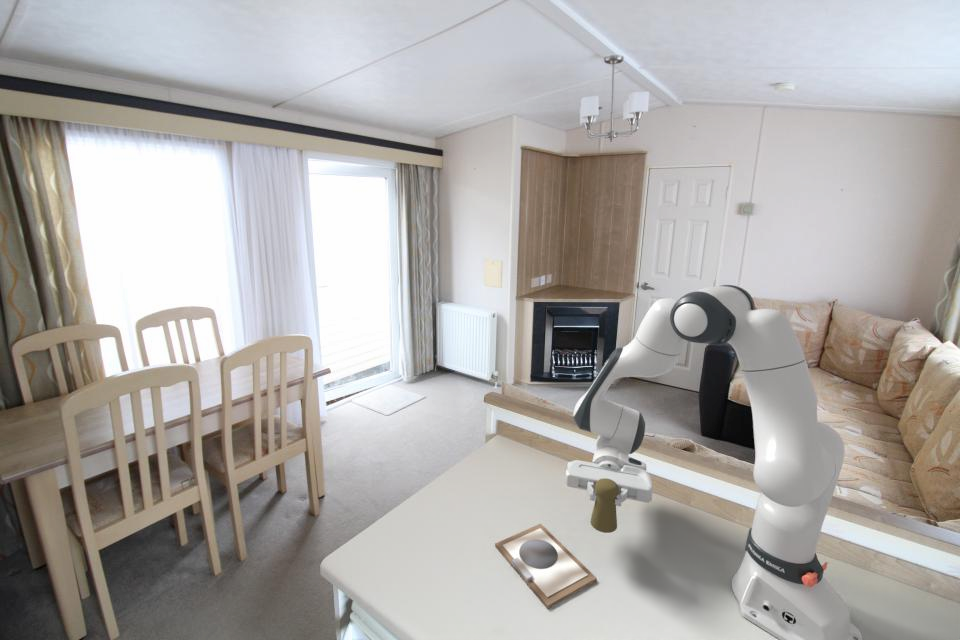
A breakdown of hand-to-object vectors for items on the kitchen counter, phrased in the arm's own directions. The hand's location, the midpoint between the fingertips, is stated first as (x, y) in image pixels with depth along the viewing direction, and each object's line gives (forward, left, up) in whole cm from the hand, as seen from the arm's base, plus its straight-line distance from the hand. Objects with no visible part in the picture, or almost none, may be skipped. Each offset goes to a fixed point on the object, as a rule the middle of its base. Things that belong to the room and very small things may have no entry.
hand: (605, 500), depth 102 cm
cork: (0, -1, -7) cm, 7 cm away
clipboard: (+6, +12, -16) cm, 21 cm away
